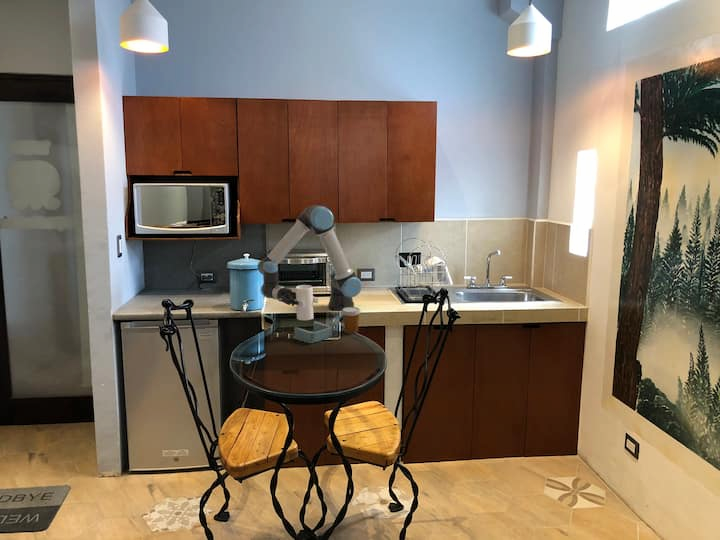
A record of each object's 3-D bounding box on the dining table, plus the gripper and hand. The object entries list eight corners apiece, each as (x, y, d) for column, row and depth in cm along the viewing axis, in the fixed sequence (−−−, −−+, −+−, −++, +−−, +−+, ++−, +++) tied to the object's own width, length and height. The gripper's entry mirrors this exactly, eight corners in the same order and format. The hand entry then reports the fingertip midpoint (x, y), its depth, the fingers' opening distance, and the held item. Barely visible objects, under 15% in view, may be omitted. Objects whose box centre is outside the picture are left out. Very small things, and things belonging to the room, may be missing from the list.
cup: (310, 314, 287) (309, 284, 284) (315, 319, 280) (314, 287, 276) (294, 316, 284) (293, 286, 280) (300, 321, 277) (298, 289, 273)
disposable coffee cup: (358, 335, 282) (358, 312, 279) (340, 334, 284) (339, 311, 281) (362, 329, 291) (362, 307, 288) (344, 328, 293) (344, 306, 290)
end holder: (317, 330, 291) (317, 320, 290) (335, 336, 281) (335, 326, 280) (293, 337, 280) (292, 328, 279) (311, 344, 270) (311, 334, 269)
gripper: (298, 297, 300) (327, 305, 285) (266, 305, 286) (294, 314, 270) (298, 283, 299) (326, 291, 283) (265, 291, 284) (293, 299, 269)
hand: (310, 302), depth 277 cm, fingers closed on cup, 8 cm apart
